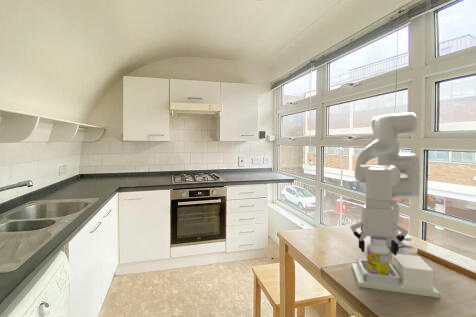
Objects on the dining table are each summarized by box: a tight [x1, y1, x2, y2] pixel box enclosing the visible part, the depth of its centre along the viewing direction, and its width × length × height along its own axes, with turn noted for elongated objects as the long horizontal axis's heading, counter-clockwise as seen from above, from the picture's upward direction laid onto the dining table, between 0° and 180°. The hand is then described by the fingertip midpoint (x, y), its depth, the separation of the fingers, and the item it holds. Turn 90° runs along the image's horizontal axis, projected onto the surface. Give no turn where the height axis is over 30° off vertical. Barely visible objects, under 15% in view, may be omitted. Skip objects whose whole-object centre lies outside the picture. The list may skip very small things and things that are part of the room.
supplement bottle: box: [366, 236, 391, 275], centre depth 80 cm, size 7×7×13 cm
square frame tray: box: [351, 252, 441, 299], centre depth 79 cm, size 22×13×8 cm, turn 74°
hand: (377, 251), depth 80 cm, fingers open, 9 cm apart
